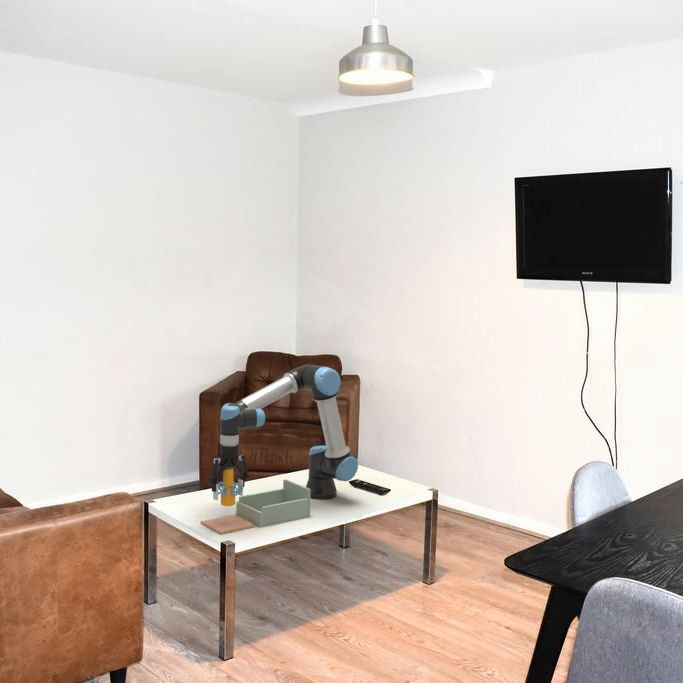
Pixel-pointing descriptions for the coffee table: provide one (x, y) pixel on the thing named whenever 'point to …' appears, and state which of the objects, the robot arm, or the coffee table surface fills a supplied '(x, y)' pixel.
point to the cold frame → (275, 505)
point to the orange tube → (228, 488)
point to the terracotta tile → (227, 524)
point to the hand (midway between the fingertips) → (228, 497)
